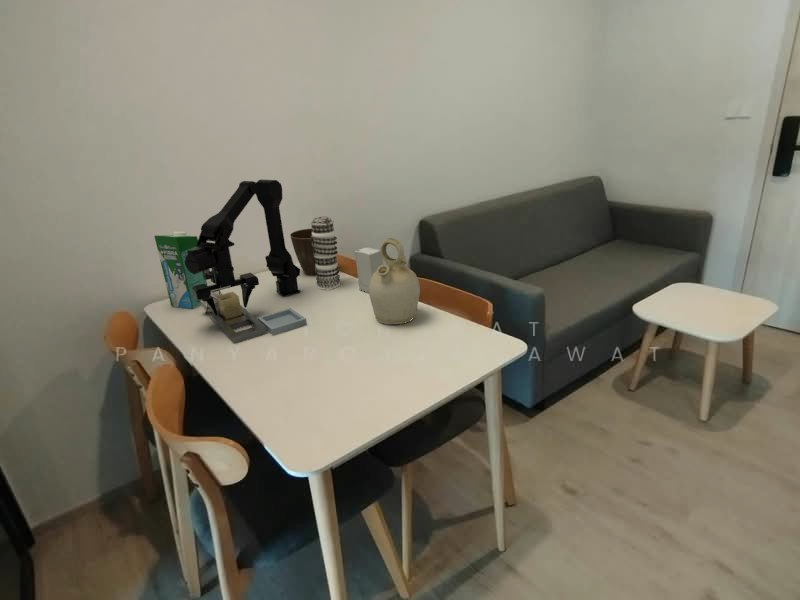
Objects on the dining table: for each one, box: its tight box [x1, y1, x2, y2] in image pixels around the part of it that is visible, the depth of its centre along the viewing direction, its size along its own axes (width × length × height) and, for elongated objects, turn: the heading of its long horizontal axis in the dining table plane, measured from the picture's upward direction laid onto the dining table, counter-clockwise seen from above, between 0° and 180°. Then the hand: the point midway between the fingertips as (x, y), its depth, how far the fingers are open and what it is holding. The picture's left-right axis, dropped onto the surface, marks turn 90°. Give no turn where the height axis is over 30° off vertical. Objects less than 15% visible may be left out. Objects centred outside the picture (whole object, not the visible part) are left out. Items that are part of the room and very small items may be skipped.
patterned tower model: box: [310, 216, 341, 290], centre depth 174 cm, size 9×9×25 cm
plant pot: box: [289, 228, 317, 276], centre depth 190 cm, size 15×15×16 cm
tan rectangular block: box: [217, 291, 242, 321], centre depth 151 cm, size 5×5×8 cm
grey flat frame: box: [209, 304, 269, 344], centre depth 148 cm, size 10×22×2 cm, turn 37°
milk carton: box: [154, 231, 208, 310], centre depth 163 cm, size 9×9×25 cm
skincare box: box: [354, 246, 384, 294], centre depth 169 cm, size 8×6×15 cm
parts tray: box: [257, 307, 308, 336], centre depth 148 cm, size 11×11×2 cm
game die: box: [197, 290, 223, 315], centre depth 158 cm, size 9×8×10 cm
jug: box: [368, 237, 421, 325], centre depth 145 cm, size 15×16×25 cm
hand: (230, 311), depth 151 cm, fingers open, 9 cm apart
